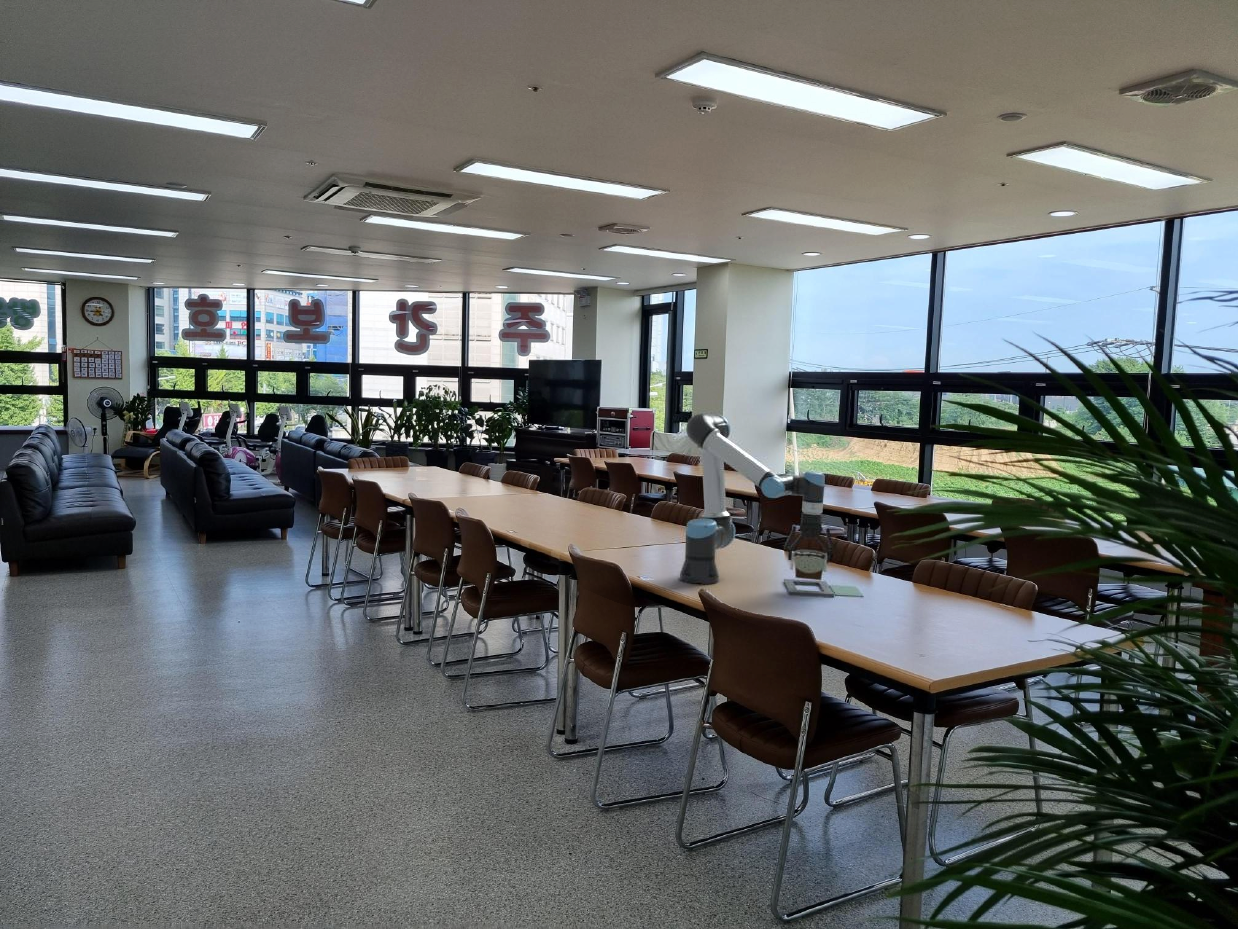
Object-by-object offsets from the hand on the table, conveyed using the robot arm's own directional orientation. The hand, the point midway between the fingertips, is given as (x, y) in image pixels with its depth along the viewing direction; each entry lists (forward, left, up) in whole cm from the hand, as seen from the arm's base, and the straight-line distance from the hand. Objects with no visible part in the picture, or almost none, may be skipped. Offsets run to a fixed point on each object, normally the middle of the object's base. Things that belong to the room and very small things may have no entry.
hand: (807, 570), depth 320 cm
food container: (0, 0, -3) cm, 3 cm away
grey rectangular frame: (0, 0, -7) cm, 7 cm away
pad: (+14, 0, -7) cm, 16 cm away
